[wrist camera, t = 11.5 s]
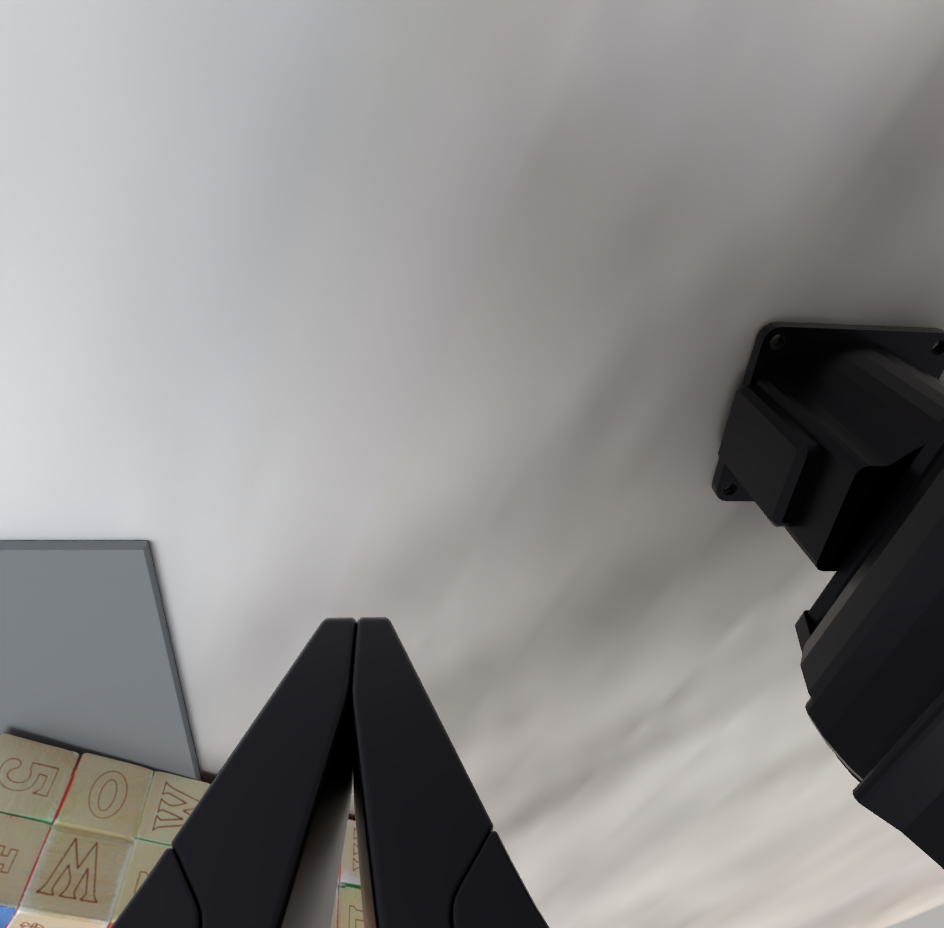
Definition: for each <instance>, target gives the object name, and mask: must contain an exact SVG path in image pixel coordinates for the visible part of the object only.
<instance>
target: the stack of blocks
mask: <svg viewBox="0 0 944 928" xmlns="http://www.w3.org/2000/svg"><path fill="white" fill-rule="evenodd" d="M210 785H211V784H209V783H206V782H202V781H198V780H194V779H190V778H186V777H181V776H177V775H173V774H170V773H165V772H160V771H152V770H150V769H148V768H145V767H142V766H138V765H134V764H130V763H126V762H122V761H118V760H115V759H111V758H106V757H102V756H98V755H94V754H90V753H84V754H82V755H80V754H78V753H77V752H74V751H68V750H65V749H63V748H58V747H54V746H50V745H47V744H43V743H39V742H36V741H32V740H28V739H25V738H21V737H17V736H14V735H11V734H6V733H2V734H1V735H0V928H111V926H112V925H113V923H114V922H115V921H116V919H117V918H118V916H119V915H120V914H121V912H122V911H123V910H124V908H125V907H126V905H127V904H128V903H129V901H130V900H131V899H132V897H133V896H134V894H135V893H136V892H137V890H138V889H139V887H140V886H141V885H142V883H143V882H144V880H145V879H146V878H147V876H148V875H149V873H150V872H151V870H152V869H153V867H154V866H155V864H156V863H157V861H158V860H159V858H160V857H161V856H162V854H163V853H164V851H165V850H166V849H167V848H172V846H171V842H172V840H173V839H174V837H175V836H176V834H177V833H178V831H179V830H180V828H181V827H182V825H183V824H184V823H185V821H186V820H187V818H188V817H189V815H190V814H191V812H192V811H193V809H194V808H195V806H196V805H197V804H198V802H199V801H200V799H201V798H202V796H203V795H204V793H205V792H206V790H207V789H208V788H209V786H210ZM330 928H364V922H363V910H362V897H361V884H360V872H359V859H358V846H357V834H356V821H355V820H351V819H348V822H347V828H346V834H345V840H344V846H343V852H342V859H341V865H340V871H339V877H338V883H337V889H336V895H335V902H334V908H333V914H332V920H331V926H330Z"/></svg>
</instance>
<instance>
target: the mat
mask: <svg viewBox="0 0 944 928" xmlns="http://www.w3.org/2000/svg"><path fill="white" fill-rule="evenodd" d="M2 733H6V734H11V735H14V736H17V737H21V738H25V739H28V740H32V741H36V742H39V743H43V744H47V745H50V746H54V747H58V748H63V749H65V750H68V751H74V752H77V753H78V754H80V755H82V754H84V753H90V754H94V755H98V756H102V757H106V758H111V759H115V760H118V761H122V762H126V763H130V764H134V765H138V766H142V767H145V768H148V769H150V770H152V771H160V772H165V773H170V774H173V775H177V776H181V777H186V778H190V779H194V780H198V781H201V776H200V772H199V767H198V763H197V758H196V754H195V749H194V745H193V740H192V736H191V731H190V727H189V722H188V718H187V713H186V709H185V705H184V700H183V696H182V691H181V687H180V682H179V678H178V673H177V669H176V664H175V660H174V655H173V651H172V646H171V642H170V637H169V633H168V628H167V624H166V619H165V615H164V610H163V606H162V601H161V597H160V592H159V588H158V583H157V579H156V575H155V570H154V566H153V561H152V557H151V552H150V548H149V543H148V541H0V735H1V734H2Z"/></svg>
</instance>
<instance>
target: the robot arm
mask: <svg viewBox="0 0 944 928" xmlns="http://www.w3.org/2000/svg"><path fill="white" fill-rule="evenodd" d="M779 334H780V338H779V340H778V341H777V342H776V343H775V344H773V345H770V341H771V339H772V338H773V337H774V336H776V335H779ZM938 341H939V342H938ZM937 342H938V345H937V346H936V347H935V348H934V349H932V347H933V345H934V344H935V343H937ZM943 370H944V330H941V329H936V328H911V327H885V326H860V325H835V324H809V323H784V322H775V323H770V324H768V325H766V326H764V327H763V328H762V329H761V330H760V332H759V334H758V336H757V338H756V342H755V345H754V348H753V351H752V355H751V358H750V361H749V365H748V368H747V371H746V374H745V378H744V381H743V384H742V386H741V387H740V388H739V389H738V391H737V392H736V395H735V399H734V402H733V405H732V409H731V412H730V415H729V419H728V422H727V425H726V428H725V432H724V435H723V438H722V442H721V445H720V448H719V452H718V455H719V456H720V459H719V463H718V466H717V469H716V472H715V476H714V479H713V482H712V489H713V491H714V492H715V494H716V495H717V497H718V498H719V499H721V500H724V501H755V502H756V504H757V505H758V506H759V507H760V509H761V510H762V511H763V512H764V514H765V515H766V516H767V518H768V519H769V520H770V521H771V523H772V524H773V525H774V526H776V527H785V529H786V530H787V531H788V532H789V534H790V535H791V536H792V537H793V539H794V540H795V541H796V542H797V544H798V545H799V546H800V547H801V549H802V550H803V551H804V552H805V554H806V555H807V556H808V557H809V559H810V560H811V561H812V562H813V564H814V565H815V566H816V567H817V569H818V570H821V571H837V572H836V573H835V575H834V576H833V577H832V579H831V580H830V582H829V583H828V585H827V586H826V587H825V589H824V590H823V592H822V593H821V595H820V596H819V597H818V599H817V600H816V602H815V603H814V605H813V606H812V608H811V609H810V610H806V611H804V612H803V614H802V615H801V617H800V618H799V620H798V621H797V622H796V624H795V628H796V631H797V635H798V639H799V643H800V646H801V650H802V659H801V664H800V665H801V669H802V672H803V676H804V679H805V682H806V686H807V689H808V693H809V695H810V697H811V698H810V699H809V701H808V702H807V703H806V706H805V708H806V711H807V713H808V715H809V717H810V719H811V721H812V723H813V724H814V726H815V727H816V729H817V730H818V732H819V733H820V735H821V736H822V738H823V739H824V741H825V742H826V744H827V745H828V746H829V747H830V748H831V749H832V751H833V752H834V753H835V754H836V756H837V757H838V759H839V760H840V761H841V762H842V764H843V765H844V766H845V767H846V768H847V770H848V771H849V772H850V773H851V774H852V775H853V776H854V777H855V778H856V779H857V780H858V781H859V782H860V783H859V784H858V786H857V787H856V788H855V789H854V790H853V795H854V797H855V799H856V800H857V801H858V802H859V803H860V804H861V805H863V806H864V807H866V808H867V809H869V810H870V811H871V812H873V813H874V814H876V815H877V816H879V817H880V818H882V819H883V820H885V821H886V822H888V823H889V824H891V825H892V826H893V827H895V828H896V829H898V830H899V831H901V832H902V833H903V834H904V835H906V836H907V837H908V838H909V839H910V840H911V841H912V842H914V843H915V844H916V845H917V846H918V847H919V848H920V849H922V850H923V851H924V852H925V853H926V854H927V855H928V856H930V857H931V858H932V859H933V860H934V861H935V862H936V863H938V864H939V865H940V866H941V867H942V868H943V869H944V383H943V382H942V381H940V380H939V378H940V376H941V374H942V372H943ZM731 483H732V485H731V486H730V487H729V488H727V489H724V487H725V486H726V485H728V484H731ZM352 784H353V785H354V808H355V821H356V834H357V846H358V859H359V872H360V884H361V897H362V910H363V922H364V928H549V926H548V925H547V923H546V921H545V920H544V918H543V916H542V915H541V913H540V912H539V910H538V908H537V907H536V905H535V903H534V902H533V900H532V898H531V896H530V894H529V892H528V891H527V889H526V887H525V885H524V883H523V881H522V879H521V878H520V876H519V874H518V872H517V870H516V868H515V867H514V865H513V863H512V861H511V859H510V857H509V855H508V853H507V851H506V849H505V847H504V845H503V843H502V841H501V839H500V837H499V835H498V833H497V832H495V831H493V824H492V822H491V820H490V818H489V816H488V814H487V812H486V810H485V808H484V806H483V804H482V802H481V800H480V798H479V796H478V794H477V792H476V790H475V788H474V786H473V784H472V782H471V780H470V778H469V776H468V774H467V772H466V770H465V768H464V766H463V764H462V762H461V760H460V758H459V756H458V754H457V752H456V750H455V748H454V746H453V744H452V742H451V740H450V738H449V736H448V734H447V732H446V730H445V728H444V726H443V725H442V723H441V721H440V719H439V717H438V715H437V713H436V711H435V709H434V707H433V705H432V703H431V701H430V699H429V697H428V695H427V693H426V691H425V689H424V687H423V685H422V683H421V681H420V679H419V677H418V675H417V673H416V671H415V669H414V667H413V665H412V663H411V661H410V659H409V657H408V655H407V653H406V651H405V649H404V647H403V645H402V643H401V641H400V639H399V637H398V635H397V633H396V631H395V629H394V627H393V625H392V623H391V621H390V620H389V619H388V618H386V617H362V618H360V619H358V621H357V623H356V620H355V619H354V618H327V619H325V620H324V621H323V622H322V623H321V624H320V626H319V627H318V628H317V630H316V631H315V633H314V634H313V636H312V637H311V639H310V640H309V642H308V643H307V644H306V646H305V647H304V649H303V650H302V652H301V653H300V655H299V656H298V658H297V659H296V661H295V662H294V663H293V665H292V666H291V668H290V669H289V671H288V672H287V674H286V675H285V677H284V678H283V680H282V681H281V682H280V684H279V685H278V687H277V688H276V690H275V691H274V693H273V694H272V696H271V697H270V698H269V700H268V701H267V703H266V704H265V706H264V707H263V709H262V710H261V712H260V713H259V715H258V716H257V717H256V719H255V720H254V722H253V723H252V725H251V726H250V728H249V729H248V731H247V732H246V734H245V735H244V736H243V738H242V739H241V741H240V742H239V744H238V745H237V747H236V748H235V750H234V751H233V752H232V754H231V755H230V757H229V758H228V760H227V761H226V763H225V764H224V766H223V767H222V769H221V770H220V771H219V773H218V774H217V776H216V777H215V779H214V780H213V782H212V783H211V785H210V786H209V788H208V789H207V790H206V792H205V793H204V795H203V796H202V798H201V799H200V801H199V802H198V804H197V805H196V806H195V808H194V809H193V811H192V812H191V814H190V815H189V817H188V818H187V820H186V821H185V823H184V824H183V825H182V827H181V828H180V830H179V831H178V833H177V834H176V836H175V837H174V839H173V840H172V842H171V846H172V848H167V849H166V850H165V851H164V853H163V854H162V856H161V857H160V858H159V860H158V861H157V863H156V864H155V866H154V867H153V869H152V870H151V872H150V873H149V875H148V876H147V878H146V879H145V880H144V882H143V883H142V885H141V886H140V887H139V889H138V890H137V892H136V893H135V894H134V896H133V897H132V899H131V900H130V901H129V903H128V904H127V905H126V907H125V908H124V910H123V911H122V912H121V914H120V915H119V916H118V918H117V919H116V921H115V922H114V923H113V925H112V926H111V928H330V926H331V920H332V914H333V908H334V902H335V895H336V889H337V883H338V877H339V871H340V865H341V859H342V852H343V846H344V840H345V834H346V828H347V822H348V815H349V809H350V802H351V794H352Z"/></svg>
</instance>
